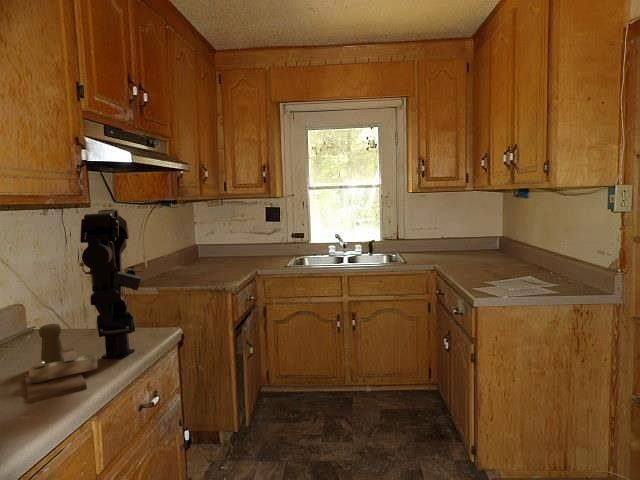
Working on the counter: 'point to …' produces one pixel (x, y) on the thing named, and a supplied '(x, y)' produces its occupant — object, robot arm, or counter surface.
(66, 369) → the latch arm
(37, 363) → the keeper
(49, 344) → the cork
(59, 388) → the base plate
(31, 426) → the counter surface
